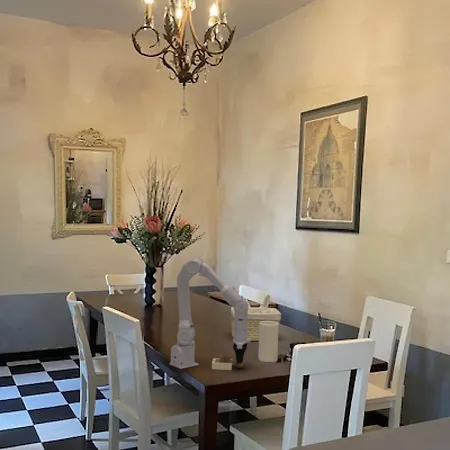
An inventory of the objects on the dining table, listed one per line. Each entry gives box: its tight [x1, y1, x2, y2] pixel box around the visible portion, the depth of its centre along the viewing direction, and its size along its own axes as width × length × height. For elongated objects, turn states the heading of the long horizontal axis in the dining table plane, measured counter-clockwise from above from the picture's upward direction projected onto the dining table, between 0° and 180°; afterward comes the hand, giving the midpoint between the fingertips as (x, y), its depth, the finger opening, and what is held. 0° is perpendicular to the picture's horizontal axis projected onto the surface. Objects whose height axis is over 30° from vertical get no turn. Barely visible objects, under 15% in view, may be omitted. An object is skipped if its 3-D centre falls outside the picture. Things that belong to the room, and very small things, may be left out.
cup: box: [258, 321, 280, 363], centre depth 231 cm, size 8×8×16 cm
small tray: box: [211, 357, 234, 371], centre depth 218 cm, size 8×7×2 cm
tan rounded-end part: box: [218, 354, 244, 368], centre depth 218 cm, size 9×4×6 cm, turn 85°
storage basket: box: [230, 306, 282, 342], centre depth 270 cm, size 24×16×15 cm
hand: (239, 362), depth 217 cm, fingers closed on tan rounded-end part, 3 cm apart
